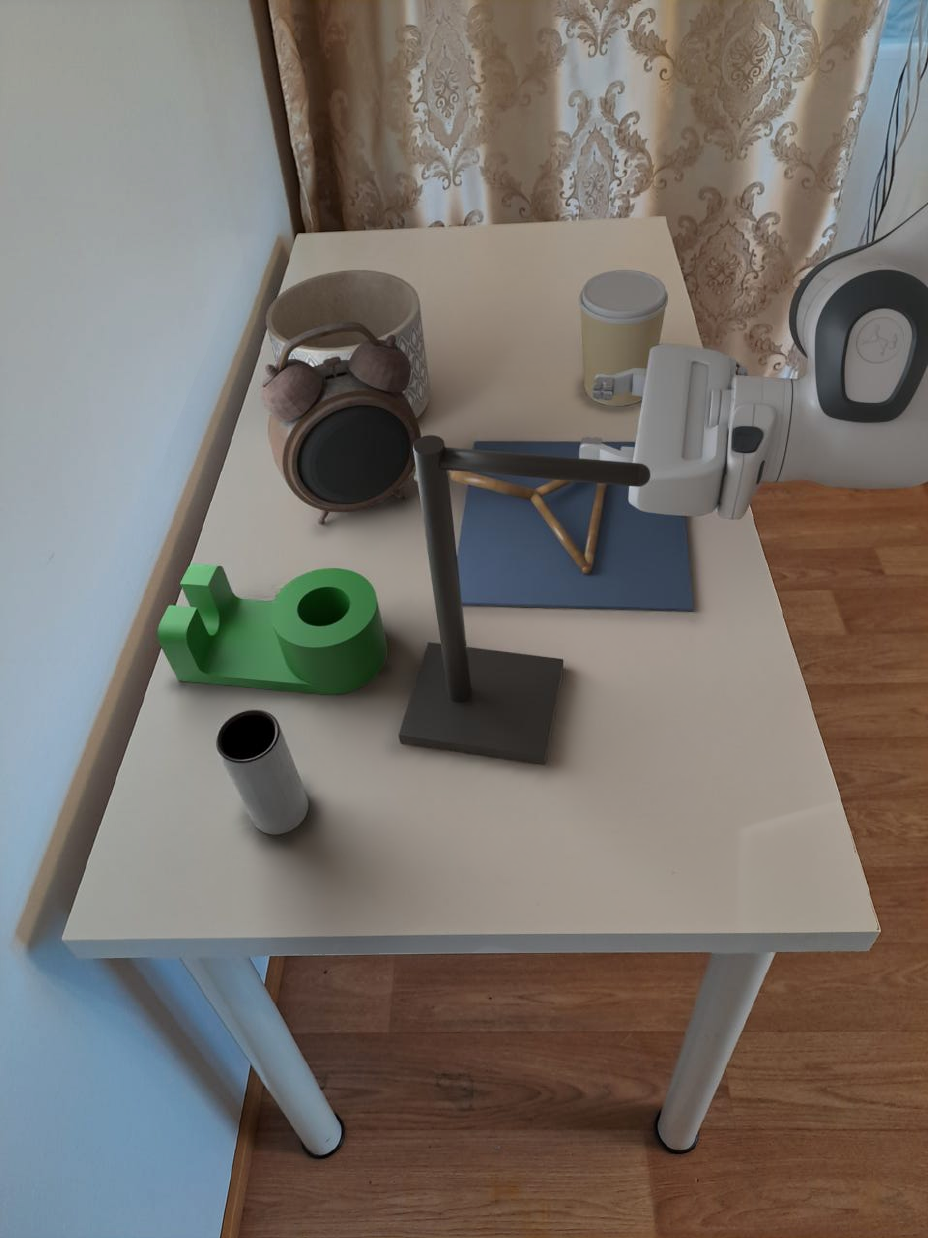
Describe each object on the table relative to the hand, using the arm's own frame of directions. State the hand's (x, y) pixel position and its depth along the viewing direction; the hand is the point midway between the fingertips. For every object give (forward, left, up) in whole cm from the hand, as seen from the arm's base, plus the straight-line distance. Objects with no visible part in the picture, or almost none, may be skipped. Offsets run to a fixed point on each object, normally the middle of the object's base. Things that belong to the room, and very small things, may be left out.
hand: (587, 416), depth 81 cm
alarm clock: (+23, -2, -13) cm, 26 cm away
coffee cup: (-4, -23, -13) cm, 26 cm away
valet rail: (+5, +23, -12) cm, 27 cm away
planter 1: (+23, +34, -13) cm, 43 cm away
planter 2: (+26, -19, -13) cm, 34 cm away
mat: (+1, 0, -12) cm, 12 cm away
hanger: (-2, 0, -12) cm, 12 cm away
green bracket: (+26, +18, -13) cm, 34 cm away
